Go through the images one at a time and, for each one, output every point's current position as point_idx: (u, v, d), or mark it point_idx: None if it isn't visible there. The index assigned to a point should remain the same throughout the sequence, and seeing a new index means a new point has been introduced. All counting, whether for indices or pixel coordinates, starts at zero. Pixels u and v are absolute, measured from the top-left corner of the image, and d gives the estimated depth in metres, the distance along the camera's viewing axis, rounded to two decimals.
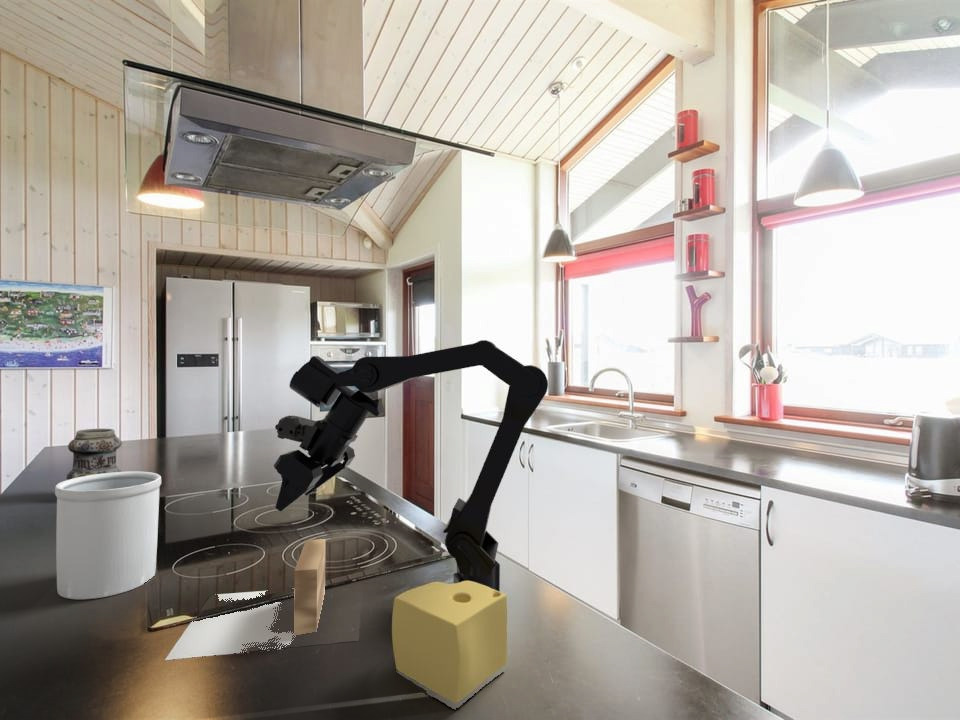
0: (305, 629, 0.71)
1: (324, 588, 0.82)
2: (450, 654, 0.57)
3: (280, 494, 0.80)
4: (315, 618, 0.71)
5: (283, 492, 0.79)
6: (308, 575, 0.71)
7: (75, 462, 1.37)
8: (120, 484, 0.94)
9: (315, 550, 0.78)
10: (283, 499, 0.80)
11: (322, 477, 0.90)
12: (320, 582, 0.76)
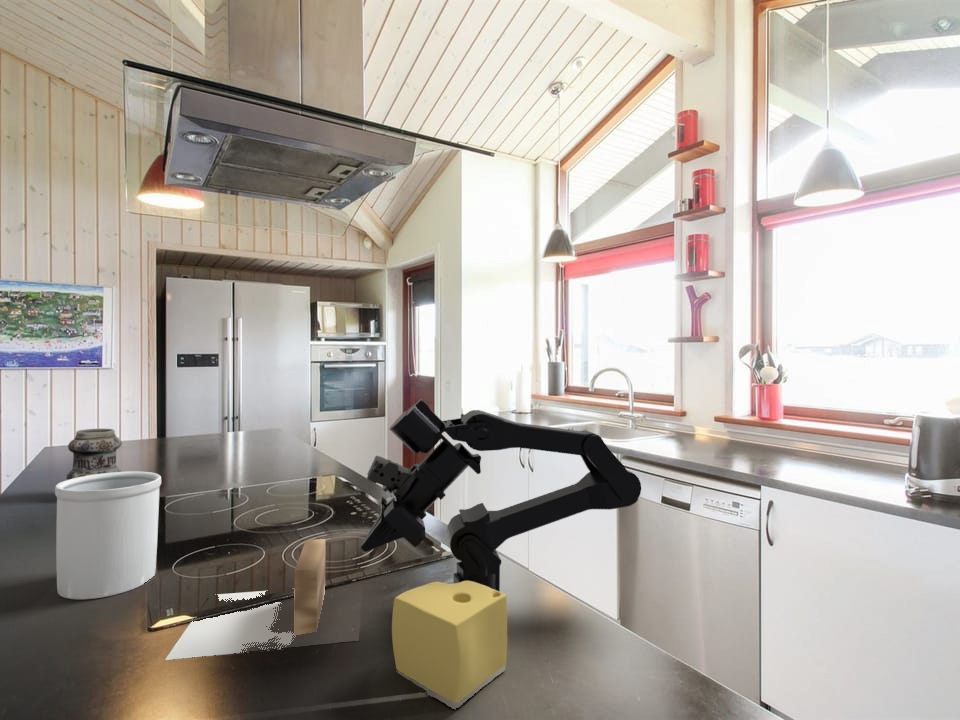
0: (305, 629, 0.71)
1: (324, 588, 0.82)
2: (450, 654, 0.57)
3: (372, 535, 0.78)
4: (315, 618, 0.71)
5: (376, 533, 0.78)
6: (308, 575, 0.71)
7: (75, 462, 1.37)
8: (120, 484, 0.94)
9: (315, 550, 0.78)
10: (373, 540, 0.78)
11: None
12: (320, 582, 0.76)
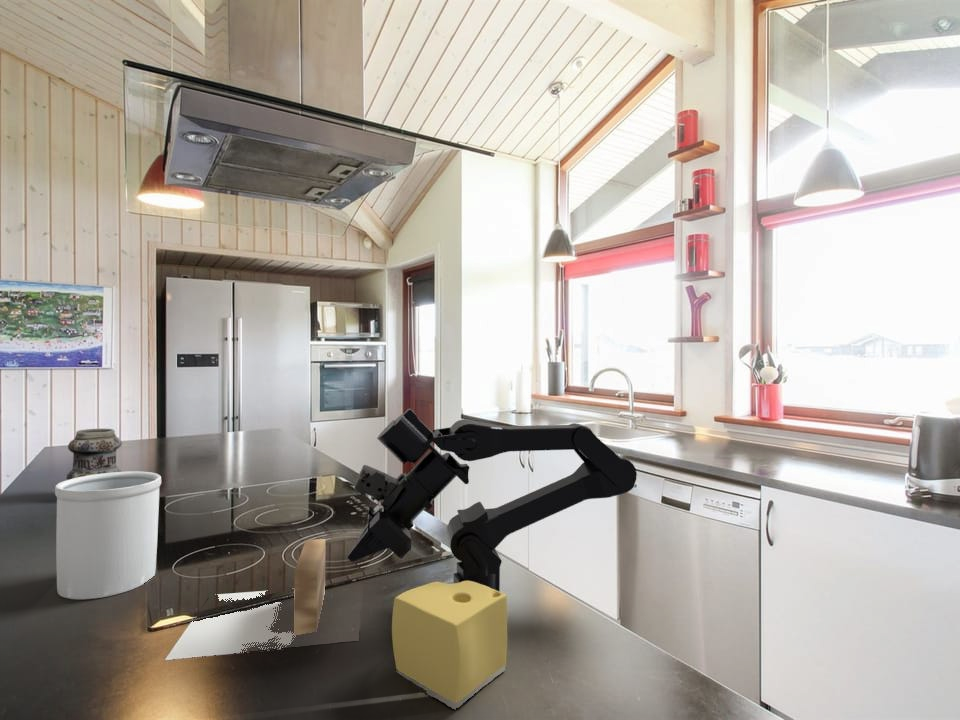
0: (305, 629, 0.71)
1: (324, 588, 0.82)
2: (450, 654, 0.57)
3: (358, 545, 0.77)
4: (315, 618, 0.71)
5: (362, 544, 0.77)
6: (308, 575, 0.71)
7: (75, 462, 1.37)
8: (120, 484, 0.94)
9: (315, 550, 0.78)
10: (360, 550, 0.77)
11: None
12: (320, 582, 0.76)
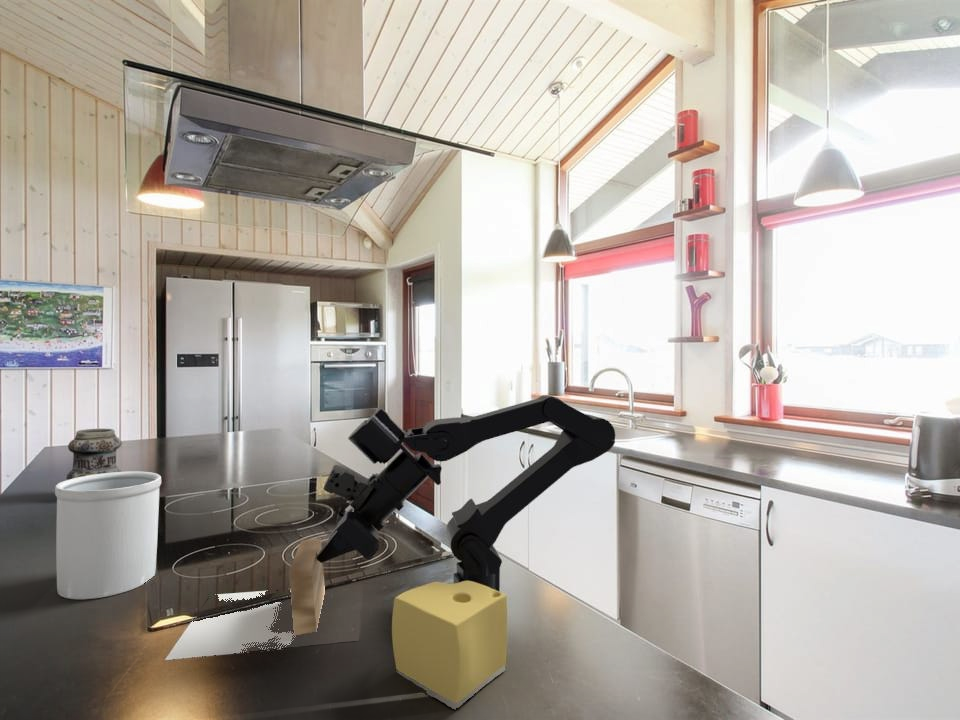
0: (305, 628, 0.71)
1: (323, 587, 0.82)
2: (450, 654, 0.57)
3: (328, 546, 0.76)
4: (314, 617, 0.71)
5: (332, 544, 0.76)
6: (303, 575, 0.71)
7: (75, 462, 1.37)
8: (120, 484, 0.94)
9: (310, 550, 0.78)
10: (329, 551, 0.76)
11: None
12: (317, 581, 0.76)
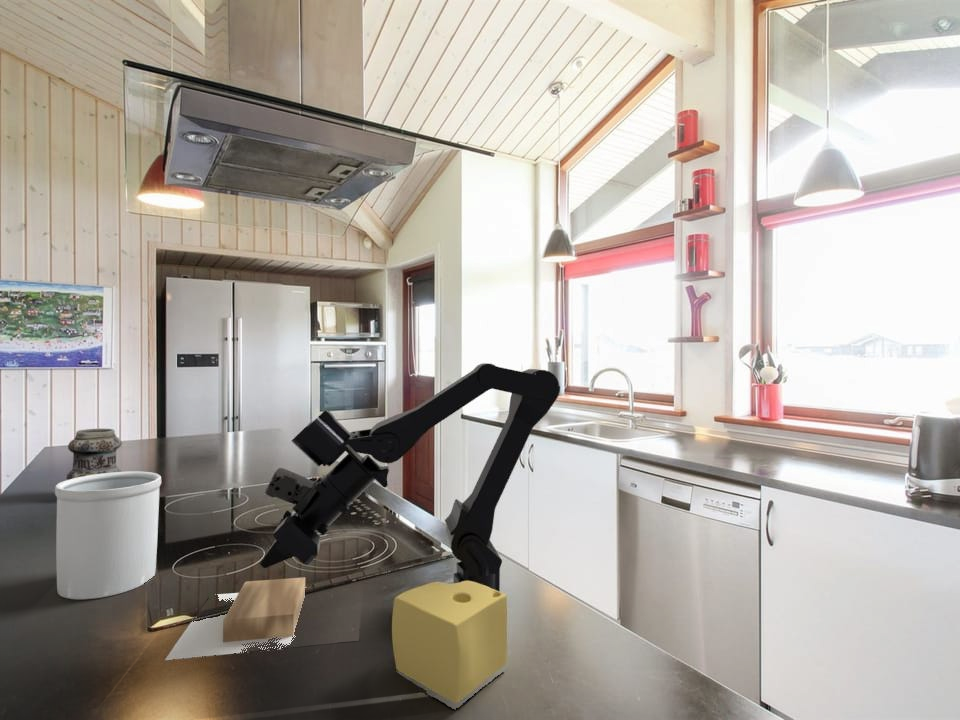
0: (287, 625, 0.71)
1: (294, 581, 0.81)
2: (450, 654, 0.57)
3: (270, 551, 0.75)
4: (277, 616, 0.70)
5: (275, 549, 0.75)
6: (229, 627, 0.69)
7: (75, 462, 1.37)
8: (120, 484, 0.94)
9: None
10: (272, 556, 0.75)
11: None
12: (261, 601, 0.74)
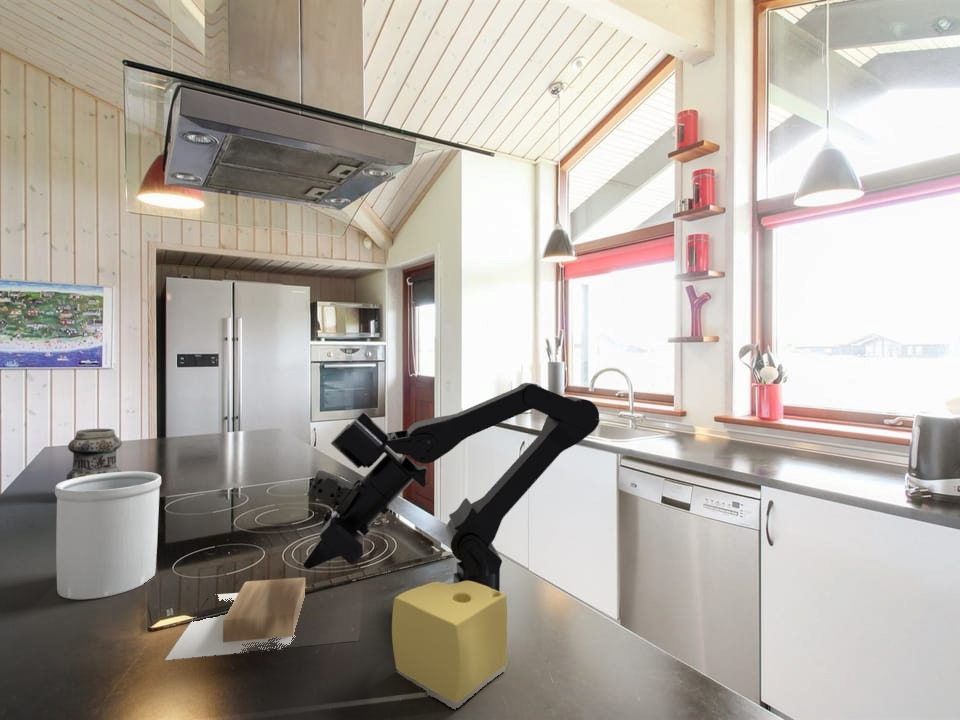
0: (287, 625, 0.71)
1: (294, 581, 0.81)
2: (450, 654, 0.57)
3: (314, 552, 0.76)
4: (277, 616, 0.70)
5: (318, 550, 0.76)
6: (229, 627, 0.69)
7: (75, 462, 1.37)
8: (120, 484, 0.94)
9: None
10: (316, 557, 0.76)
11: None
12: (261, 601, 0.74)
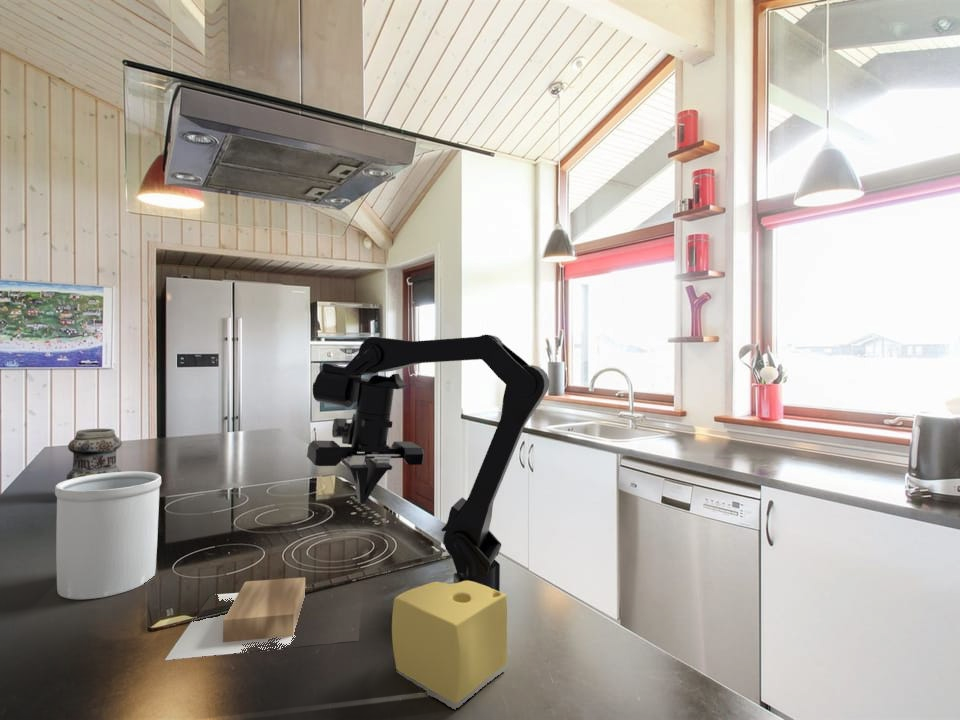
0: (287, 625, 0.71)
1: (294, 581, 0.81)
2: (450, 654, 0.57)
3: (355, 486, 0.87)
4: (277, 616, 0.70)
5: (355, 483, 0.86)
6: (229, 627, 0.69)
7: (75, 462, 1.37)
8: (120, 484, 0.94)
9: None
10: (357, 490, 0.86)
11: (368, 480, 0.86)
12: (261, 601, 0.74)
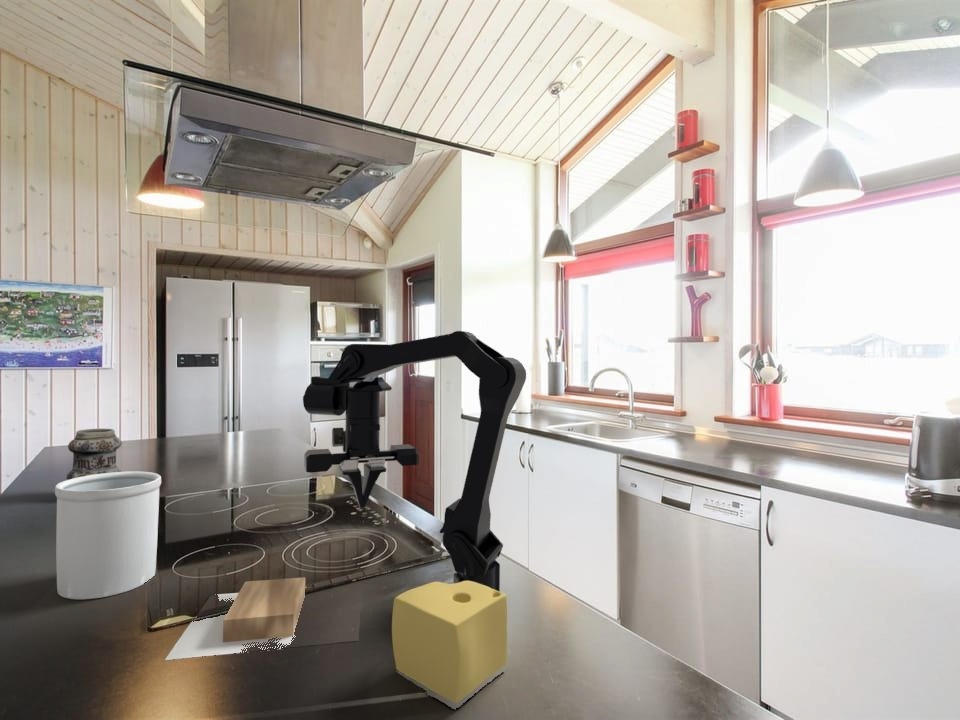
0: (287, 625, 0.71)
1: (294, 581, 0.81)
2: (450, 654, 0.57)
3: (354, 491, 0.89)
4: (277, 616, 0.70)
5: (354, 488, 0.89)
6: (229, 627, 0.69)
7: (75, 462, 1.37)
8: (120, 484, 0.94)
9: None
10: (355, 494, 0.88)
11: (365, 484, 0.88)
12: (261, 601, 0.74)
